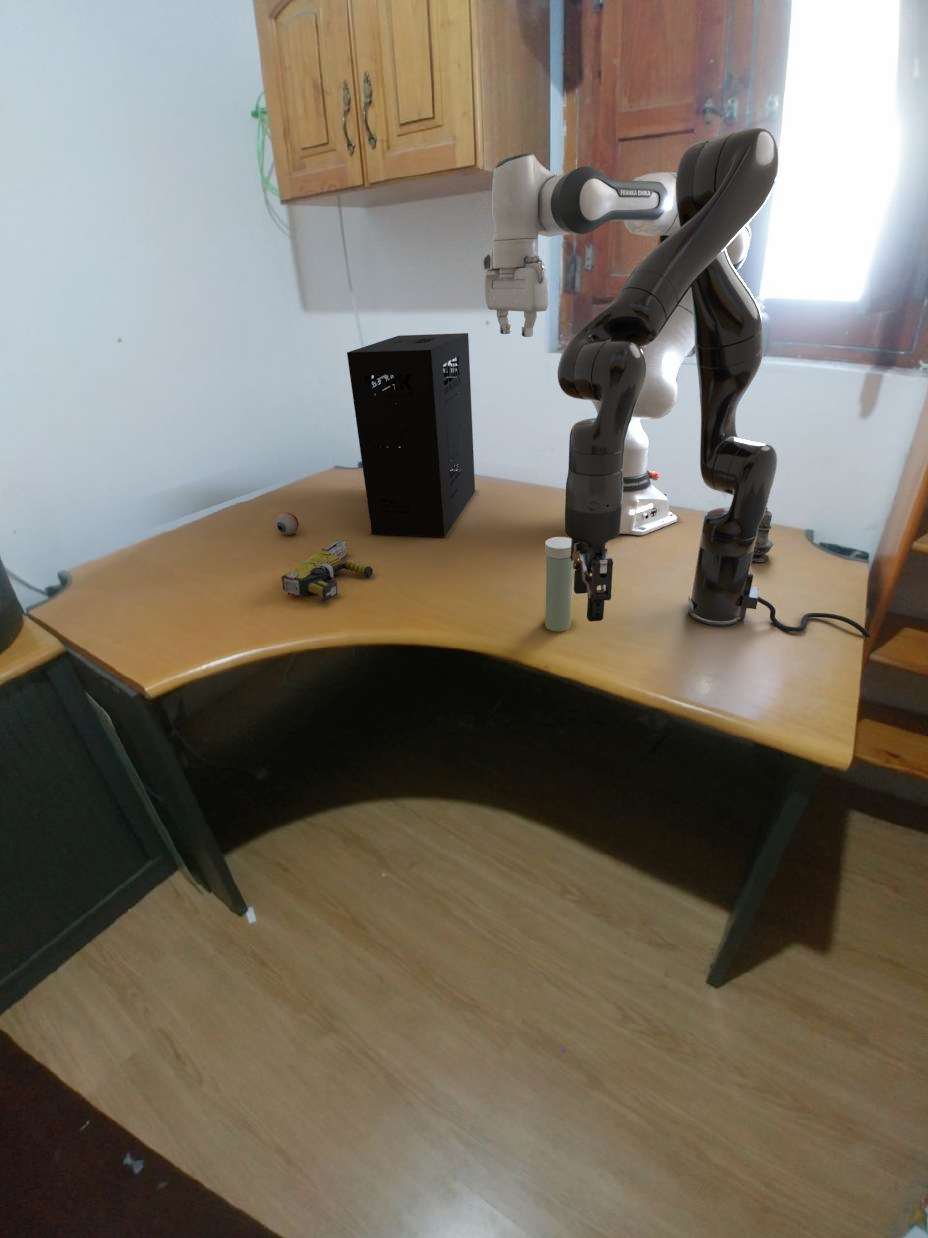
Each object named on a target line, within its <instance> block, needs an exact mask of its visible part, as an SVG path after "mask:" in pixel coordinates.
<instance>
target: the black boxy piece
mask: <svg viewBox="0 0 928 1238" xmlns="http://www.w3.org/2000/svg"><path fill="white" fill-rule="evenodd" d="M469 341H470V340H469V332H462V333H461V332H460V333H459V332H458V333H457V332H455V333H434V334H433V333H432V334H407V335H406V334H405V335H404V334H403V335H396V336H393V337H390V338H387V339H384V340H380V341H377V342H374V343H371V344H368V345H365V346H362V347H358V348H356V349H353V350H350V351H347V352H346V356H347V364H348V371H349V379H350V384H351V394H352V401H353V407H354V414H355V415H354V416H355V421H356V429H357V437H358V444H359V453H360V459H361V466H362V474H363V481H364V488H365V495H366V503H367V509H368V510H367V511H368V517H369V525H370V532H371V535H379V536H403V537H404V536H405V537H428V538H429V537H430V538H431V537H432V538H446V536H447V534H448V533H449V531H450V530H451V528H452V527H453V525H454V524H455V523H456V521H457V520H458V518H459V517H460V515H461V513H462V512H463V510H464V509H465V507H466V506H467V504H468V503H469V501H470V500H471V499H472V497H473V495H474V494H475V492H476V482H475V480H476V477H475V459H474V457H475V455H474V432H473V412H472V410H473V409H472V388H471V387H472V386H471V367H470V366H471V365H470V364H471V363H470V344H469V343H470V342H469ZM449 363H450V364H449Z"/></svg>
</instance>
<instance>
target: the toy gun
mask: <svg viewBox="0 0 928 1238" xmlns="http://www.w3.org/2000/svg"><path fill="white" fill-rule="evenodd" d="M345 548H348V543H347V542H346V541H343V540H342V541H341V540H339V539H338V540H335V541H334V542H333V543H331V544H330V545H327V546H326V547H325V548H321V549H320V550H318V551H317V552H316V553H314V554H312V555H311V556H310V557H307V559H305V560H304V561H302V562H300V563H299V564H298V565H296V566H294V567H293V568H291V569H290V570H288V571H287V572H285V573H284V574H282V576H281V585H282V586H281V587H282V590H283V591H284V592H285V593H287V596H292V597H295V596H302V597H303V596H307V595H310V594H315V595H318V596H320V597H322V601H323V602H325V603H327V602H328V601H330V600H332V599H333V598H335V597H337V596H338V594H339V593H338V582H337V581H336V580H334V578H335V577H334V575H336V574H337V573H340V572H342V571H343V570H346V571H349V572H353V573H355V574H358V575H361V576H364V577H366V578H370V577H372V576H373V575H374V569H373V567H372V566H370V565H365V564H361V563H359V562H357V561H352V560H349V559H347V560H345V561H344V562H342V560H343V558H344V557H347V556H348V554H349V553H348V549H346V552H344V549H345Z"/></svg>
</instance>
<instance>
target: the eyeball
mask: <svg viewBox="0 0 928 1238" xmlns="http://www.w3.org/2000/svg"><path fill="white" fill-rule="evenodd" d="M299 525H300V522H299V519H298V517H297V516H296V515H295V514H294V513H292V512H287V511H286V512H282V513H280V514H279V515H278V516H277V517H276V520H275V527H276V529H277V530H278V531H279V532H280V533H281V534H282V535H285V536H286V535H287V536H289V535H293V534H295V533H296V532H297V531H298V529H299Z"/></svg>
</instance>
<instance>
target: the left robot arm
mask: <svg viewBox="0 0 928 1238" xmlns="http://www.w3.org/2000/svg"><path fill="white" fill-rule="evenodd" d="M676 175H677V172H675V171H673V172H672V171H660V172H659V171H658V172H651V173H646V174H641V175H640V176H637V177H635V178H633V179H632V180H624V179H623V180H621V179H613V178H610V177H609V176H607V175H606V174H604V173H603V172H601V171H600V170H599V169H596V168H594V167H592V166H585V165H584V166H579V167H577V168H575V169H573V170H569V171H568V172H566V173H565V172H564V173H562V174H559V175H558V174H556V173H554V172H552V171H551V170H549V169H547V168H546V167H545V166H543V165H542V163H540V161H539V160H538V159H537V157H536V156H535V153H531V152H525V153H520V154H517V155H513V156H509V157H507V158H504V159H501V160H500V161H499V162H497V164H496V165H495V167H494V170H493V174H492V183H491V216H492V220H493V227H494V228H493V235H492V248H491V249H490V250H489V252H488V253H487V254H486V255H485V256H484V257H483V258H482V269H483V271H485V273H484V297H485V304H486V306H487V307H486V308H487V309H488V310H492V311H496V318H497V321H498V323H499V324H498V325H499V333H500V335H510V334H511V324H509V318H508V316H509V312H523V318H524V323H523V326H522V327H521V336H522V337H523V338H531V337H533V335H534V326H535V324H536V320H537V318H538V316H537V315H538V314H537V313H540V312H546V311H547V310H548V308H549V307H548V306H549V303H550V297H549V296H550V295H549V279H548V278H549V277H548V273H547V269H546V268H545V263H544V262H543V260H542V258H541V256H539V236H542V237H546V238H547V237H549V238H550V237H557V236H558V237H560V236H566V235H567V236H568V235H585V234H586V235H587V234H589V233H592V232H594V231H595V230H597V229H598V228H600V227H602V226H603V225H605V224H606V223H608V222H623V224H624V226H625V227H626V230H628V232H629V233H631V234H634V235H639V236H645V237H658V242H657V246H658V245H659V244H660V243H662V242H663V241H664V240H666V239H667V238H668V237H669V236H671V235H672V234H673V233H674V232H676V231H677V230H678V229H680V225H679V219H678V212H677V204H676ZM751 243H752V231H751V228H750V225H749V223H748V224H747V225H746V226H745V227H744V228H743V229H742V230H741V231H740V232H739V233H738V234H737V235H736V236H735V238H734V239H733V240H732V241H731V242H730V243H729V244H728V245H727V246H726V247H725V249H726V252H727V255H728V258H729V260H730V262H731V264H732V266H733V267H734V269H735V271H736V272H737V271H738V270H739V269H740V268H741V267H742V265H743V263H744V262H745V260H746V258H747V256H748V254H749V252H750V249H751ZM693 348H695V341H694V321H693V309H692V299H691V289H689V290H688V292H687V293H686V294H685V296H684V297H683V299H682V300H681V302H680V303H679V305H678V306H677V308H676V309H675V311H674V312H673V314H672V315H671V317H670V319H669V320H668V322H667V323H666V325H665V326H664V327H663V329H662V331H661V332H660V334H659V335H658V336H657V338H656V339H655V340H654V341H653V342H652V343H650V344H649V345H647V346H644V347H643V350H644V351H643V354H644V357H645V362H646V375H645V381H644V384H643V387H642V390H641V393H640V396H639V398H638V401H637V404H636V406H635V409H634V412H633V415H632V419H631V422H630V425H629V428H628V431H627V434H626V438H625V448H624V461H623V498H622V510H621V523H620V532H619V534H618V535H620V534H623V535H625V534H626V535H632V536H633V535H634V536H645V535H646V534H650V533H652V532H654V531H657V530H660V529H662V528H665V527H668V526H670V525H672V524H675V523H677V522H678V516H677V515H676V514H675V513H674V512H672V511H670V503H669V502H670V501H669V498H668V497H667V494H666V493H663V492H661V491H660V490H659V489H658V488H656V487H655V486H654V485H652V483H651V480H653V481H658V479H659V478H660V473H659V472H657V471H654V470H651V471H649V470H648V469H647V466H648V458H649V457H648V455H649V446H650V441H649V437H648V435H647V434H646V432H645V431H644V429H643V427H642V424H641V420H656V419H662V418H664V417H666V416H667V415H669V413H670V412H671V411H672V410H673V408H674V406H675V405H676V402H677V399H678V395H679V389H678V388H679V387H678V383H677V377H678V373H679V371H680V368H681V366H682V365H683V363H684V361H685V359H686V358H687V357H688V355H689V354H690V353H691V352H692V350H693ZM591 402H592V404H593V406H594V408H595V411H596V414H597V415H598V413H599V410H600V407H601V402H599V401H591Z"/></svg>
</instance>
